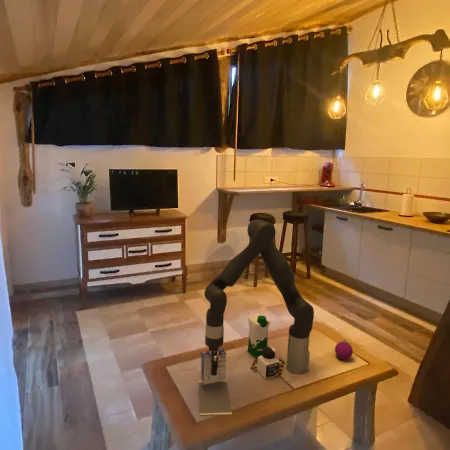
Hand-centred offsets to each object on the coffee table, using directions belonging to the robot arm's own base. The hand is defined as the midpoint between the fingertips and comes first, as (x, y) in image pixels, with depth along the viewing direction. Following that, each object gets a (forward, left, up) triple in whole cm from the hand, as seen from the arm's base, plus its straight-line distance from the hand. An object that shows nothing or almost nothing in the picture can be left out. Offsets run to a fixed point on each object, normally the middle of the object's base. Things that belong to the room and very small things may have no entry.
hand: (213, 369), depth 154 cm
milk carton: (-23, -24, -8) cm, 34 cm away
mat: (0, +7, -8) cm, 10 cm away
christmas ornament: (-64, -18, -8) cm, 67 cm away
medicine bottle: (-25, -8, -8) cm, 27 cm away
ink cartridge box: (0, 0, -4) cm, 4 cm away
